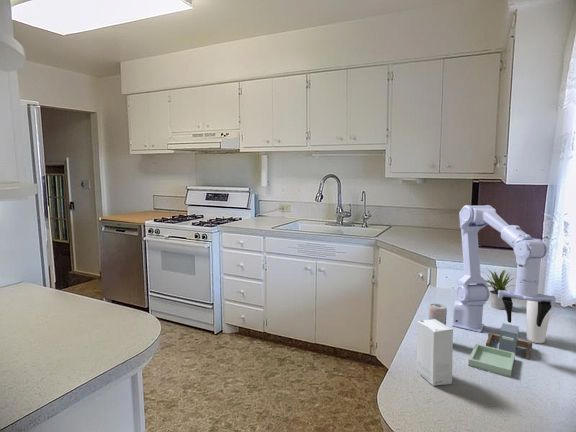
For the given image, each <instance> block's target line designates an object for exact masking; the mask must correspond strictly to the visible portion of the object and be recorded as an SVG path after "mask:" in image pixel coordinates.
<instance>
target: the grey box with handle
mask: <svg viewBox="0 0 576 432" xmlns="http://www.w3.org/2000/svg"><path fill="white" fill-rule="evenodd" d="M519 329H520V326H518V325H513V324H509V323H504V322H503V323H502V324H501V327H500V329H499V330H500V331H499V335H500V340H499V342H498V349H500V350H504V351H508V352H513V353H515V355H516V354H517V349H518V346H517V342H518V339H519Z"/></svg>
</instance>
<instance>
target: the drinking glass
mask: <svg viewBox="0 0 576 432" xmlns="http://www.w3.org/2000/svg"><path fill="white" fill-rule="evenodd" d="M525 308H526V310H525V311H526V334H525V336H526V337H525V338H526V340H527V341H528V342H532V343H534V344H544V343H545V342H546V337H547V332H548V325H549V321H550V316H551V310H552V308H551V309H550V310H549V311H548V313H547V314H546V316H545V317H544V319H543V321H542V324H541V327H538V326H537V324H536V321H537V314H538V302H536V301H528V300H526V307H525Z"/></svg>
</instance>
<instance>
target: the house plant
mask: <svg viewBox="0 0 576 432" xmlns="http://www.w3.org/2000/svg"><path fill="white" fill-rule="evenodd" d="M486 270H487V271H489V272H490V274H491V276H492V277H491V276H490V275H489V274H487V273H485V272H484V275H486V276H487V277H488V278H489V279H488V278H487V279H485V280H486V281H487V286H488V288H489V287H490V288H492V290H489V292H490V297H489V303H490V307H491V308H492V309H496V310H506V309H505V305H504V303H503V300H502V298H499V297H498V290H506V291H508V289H507V288H509V287H516V284H515V285H513V284H512V285H511V284H510V285H509V286H507V285H508V283H509V282H510V281H512V280H514V279H515V277H514V278H510V277H511V274H509V272H507V270H506V269H503V270H502V271H501V273H500V275H499V276H498V274H497V272H496V271H493V272H492V271H491V270H489V269H487V268H486ZM506 272H507V273H506ZM481 273H482V274H483V272H482V271H480V274H481ZM505 274H506V275H505ZM504 276H505V277H504ZM488 283H489V284H488ZM506 286H507V287H506Z"/></svg>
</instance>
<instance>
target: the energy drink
mask: <svg viewBox="0 0 576 432" xmlns="http://www.w3.org/2000/svg"><path fill="white" fill-rule="evenodd" d="M447 312H448V310H447V306H446V305H444V304H440V303H430V305H429V308H428V320H432V319H436V320H437V321H439V322H441V323H443V324H444V325H446V326H447V315H448V314H447Z"/></svg>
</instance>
